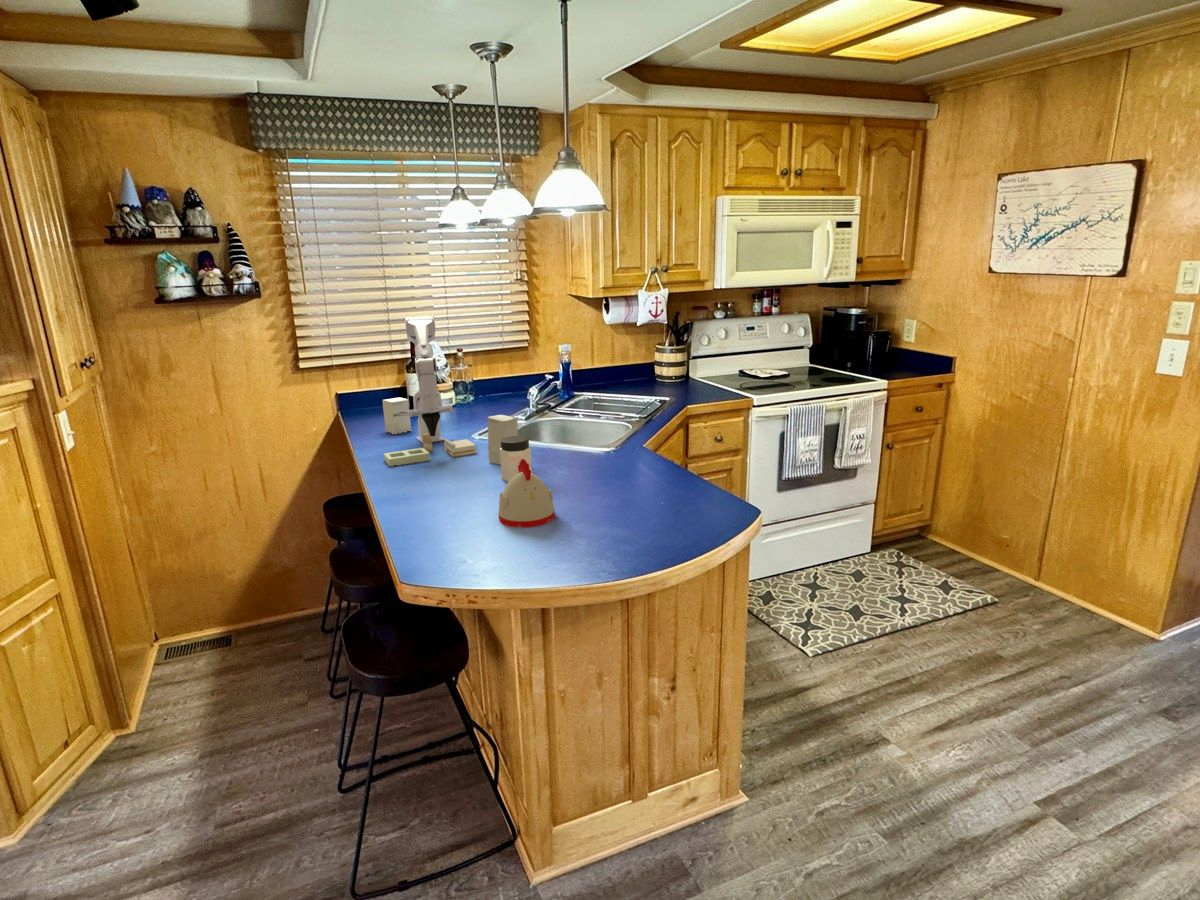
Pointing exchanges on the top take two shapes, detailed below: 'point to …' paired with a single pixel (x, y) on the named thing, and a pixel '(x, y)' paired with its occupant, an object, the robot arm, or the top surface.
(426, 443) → the peg
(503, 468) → the jar
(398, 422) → the supplement box
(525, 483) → the kitchen timer
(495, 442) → the skincare box
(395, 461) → the socket board
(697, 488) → the top surface
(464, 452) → the board
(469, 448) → the lid
